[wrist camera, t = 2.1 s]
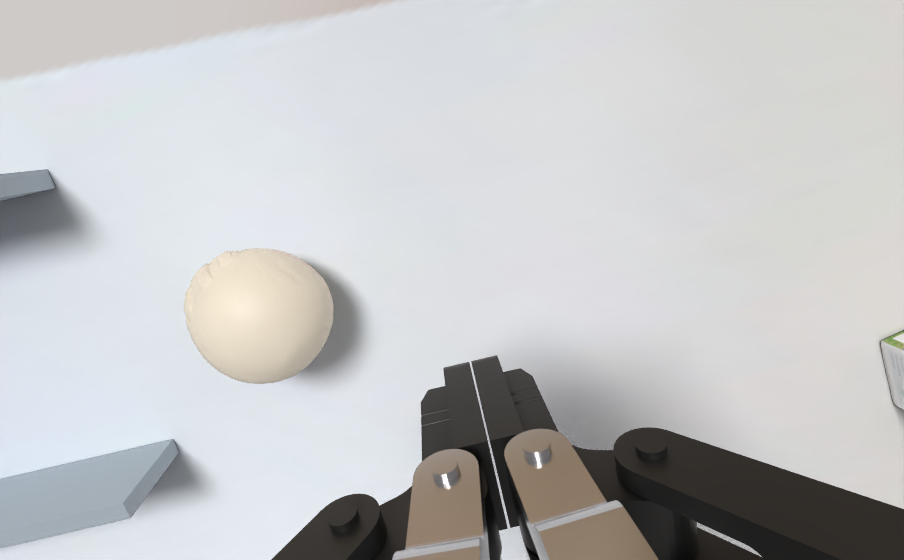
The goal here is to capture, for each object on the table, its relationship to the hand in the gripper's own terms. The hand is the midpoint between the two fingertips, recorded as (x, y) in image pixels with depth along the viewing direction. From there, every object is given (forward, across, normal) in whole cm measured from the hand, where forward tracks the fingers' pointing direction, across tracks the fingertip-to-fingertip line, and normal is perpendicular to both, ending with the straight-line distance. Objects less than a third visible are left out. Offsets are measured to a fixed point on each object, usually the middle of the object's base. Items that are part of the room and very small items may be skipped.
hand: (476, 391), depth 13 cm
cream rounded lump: (+16, +10, 0) cm, 19 cm away
